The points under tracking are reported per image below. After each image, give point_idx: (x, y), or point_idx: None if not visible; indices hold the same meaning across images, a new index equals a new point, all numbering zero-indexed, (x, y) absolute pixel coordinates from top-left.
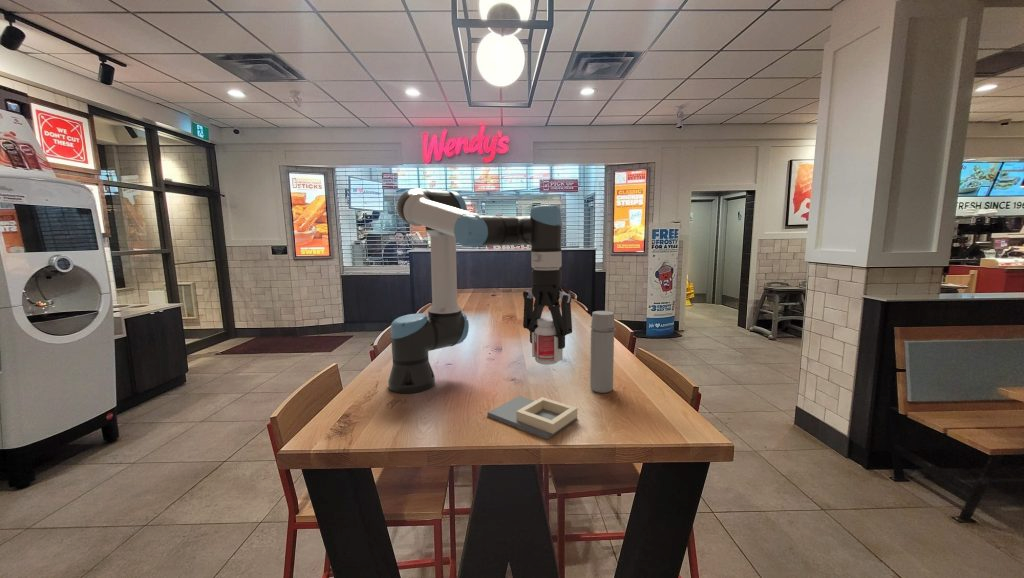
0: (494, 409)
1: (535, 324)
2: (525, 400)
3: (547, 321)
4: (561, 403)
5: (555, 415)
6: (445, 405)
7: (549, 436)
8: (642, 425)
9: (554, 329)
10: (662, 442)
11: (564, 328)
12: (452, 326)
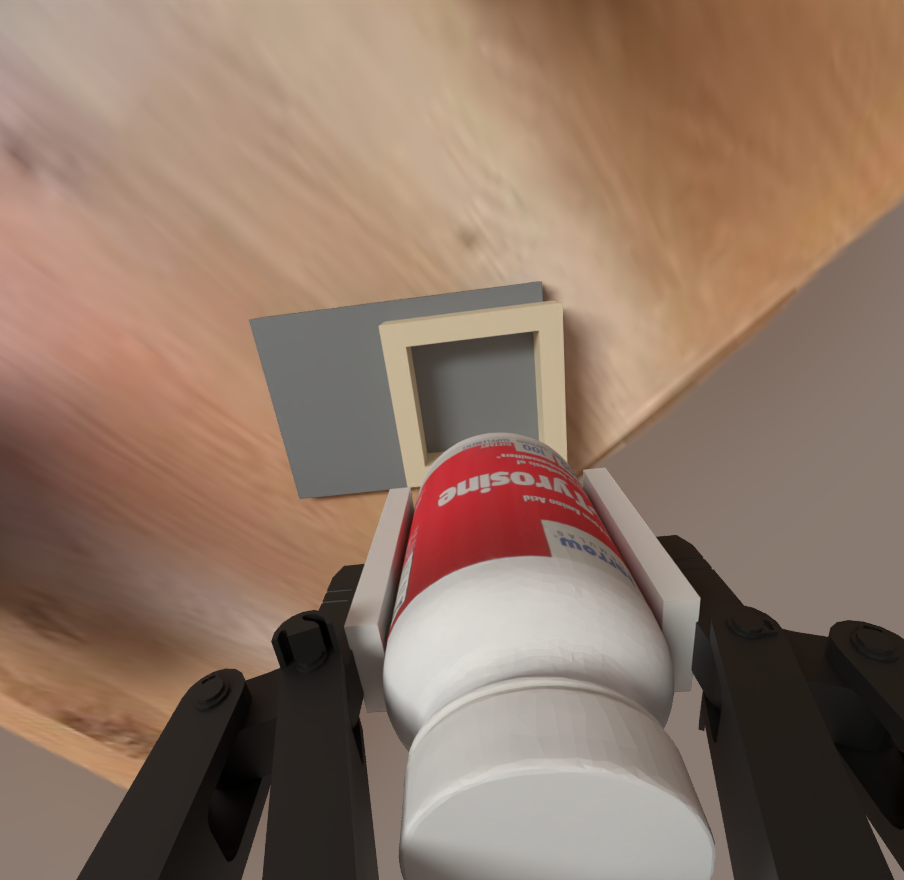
0: (297, 471)
1: (361, 774)
2: (304, 337)
3: None
4: (484, 316)
5: (484, 353)
6: (148, 535)
7: None
8: (783, 125)
9: (658, 719)
10: (882, 205)
11: (884, 794)
12: None
